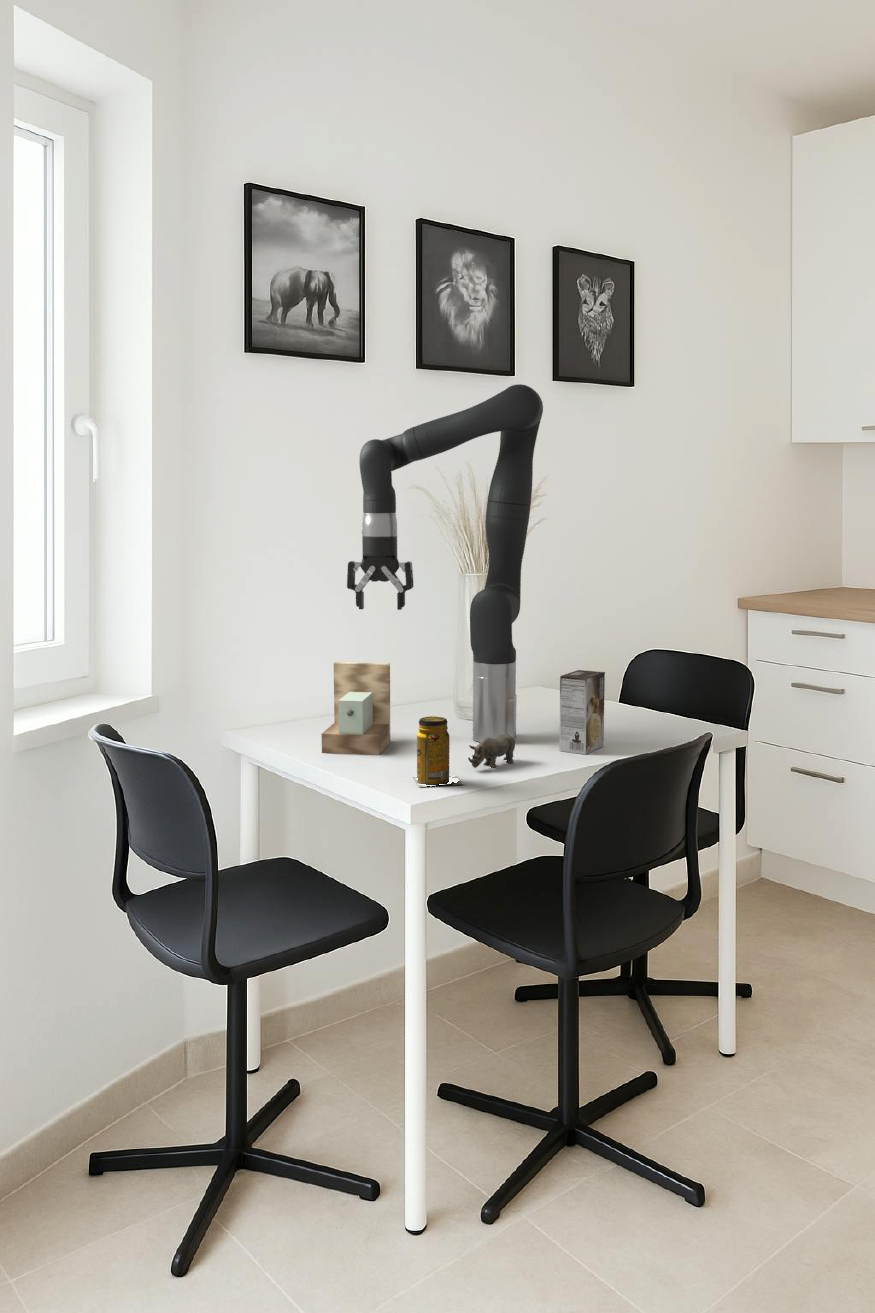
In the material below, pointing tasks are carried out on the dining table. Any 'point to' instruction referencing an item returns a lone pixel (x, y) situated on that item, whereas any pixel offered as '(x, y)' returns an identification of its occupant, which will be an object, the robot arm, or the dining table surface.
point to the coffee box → (581, 711)
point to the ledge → (356, 740)
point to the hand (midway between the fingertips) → (380, 609)
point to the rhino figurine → (493, 750)
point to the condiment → (433, 752)
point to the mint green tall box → (355, 713)
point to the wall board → (364, 686)
